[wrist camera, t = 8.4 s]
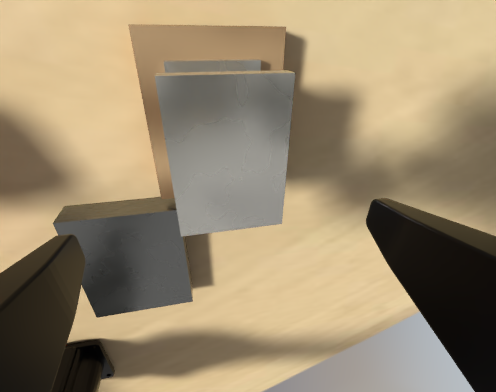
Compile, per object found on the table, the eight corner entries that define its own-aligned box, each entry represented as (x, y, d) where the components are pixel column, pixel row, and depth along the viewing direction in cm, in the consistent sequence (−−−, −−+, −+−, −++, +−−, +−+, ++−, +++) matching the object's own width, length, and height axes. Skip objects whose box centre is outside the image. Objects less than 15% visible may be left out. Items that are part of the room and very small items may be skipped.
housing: (254, 171, 19) (281, 223, 14) (181, 178, 18) (181, 236, 13) (257, 58, 15) (295, 72, 10) (164, 60, 14) (154, 75, 9)
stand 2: (267, 175, 21) (274, 188, 20) (163, 185, 20) (161, 199, 18) (275, 27, 16) (285, 26, 14) (134, 25, 15) (128, 24, 13)
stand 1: (192, 283, 26) (192, 301, 24) (102, 297, 24) (96, 317, 23) (178, 195, 20) (178, 210, 19) (64, 206, 19) (52, 223, 17)
